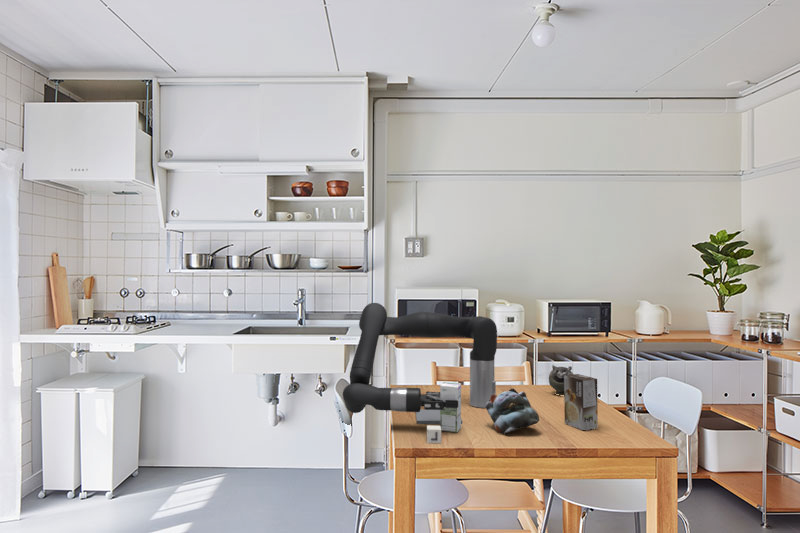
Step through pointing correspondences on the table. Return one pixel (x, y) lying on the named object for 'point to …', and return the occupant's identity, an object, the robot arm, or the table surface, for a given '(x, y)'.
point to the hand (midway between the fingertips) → (457, 401)
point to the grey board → (428, 417)
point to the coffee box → (580, 401)
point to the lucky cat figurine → (511, 411)
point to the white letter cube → (433, 434)
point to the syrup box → (450, 416)
